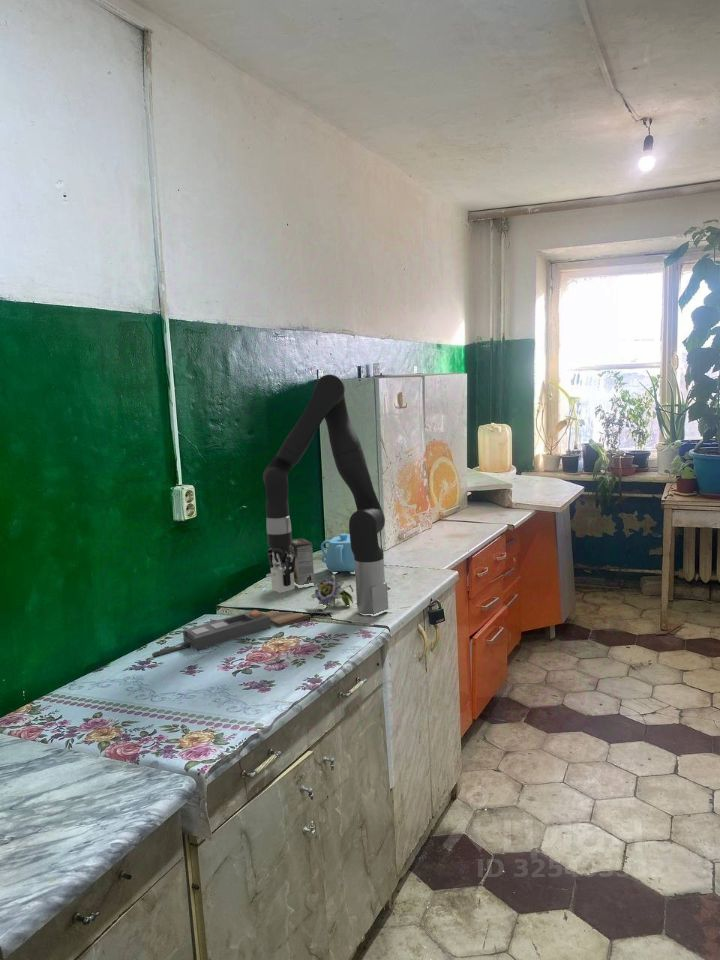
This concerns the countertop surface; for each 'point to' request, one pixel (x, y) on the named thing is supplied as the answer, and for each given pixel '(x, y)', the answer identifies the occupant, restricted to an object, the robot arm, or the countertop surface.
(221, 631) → the power strip
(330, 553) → the teapot
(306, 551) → the coffee box
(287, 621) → the walnut pad
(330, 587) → the passion flower
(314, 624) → the countertop surface
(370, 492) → the robot arm
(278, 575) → the block
